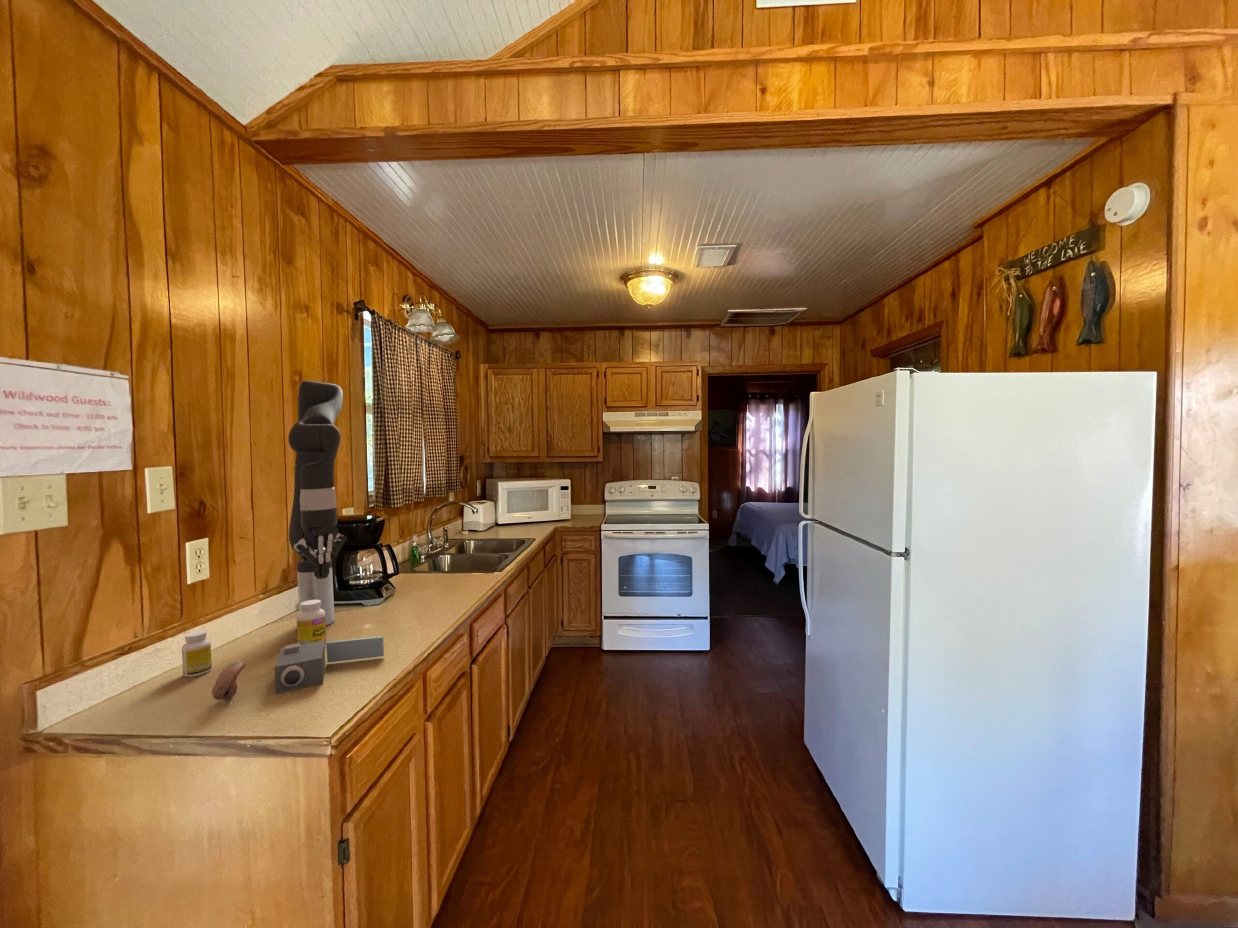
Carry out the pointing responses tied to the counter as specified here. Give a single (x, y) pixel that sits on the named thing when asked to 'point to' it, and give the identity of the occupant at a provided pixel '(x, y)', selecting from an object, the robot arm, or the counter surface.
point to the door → (355, 649)
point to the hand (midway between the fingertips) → (322, 577)
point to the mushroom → (227, 682)
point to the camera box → (300, 666)
